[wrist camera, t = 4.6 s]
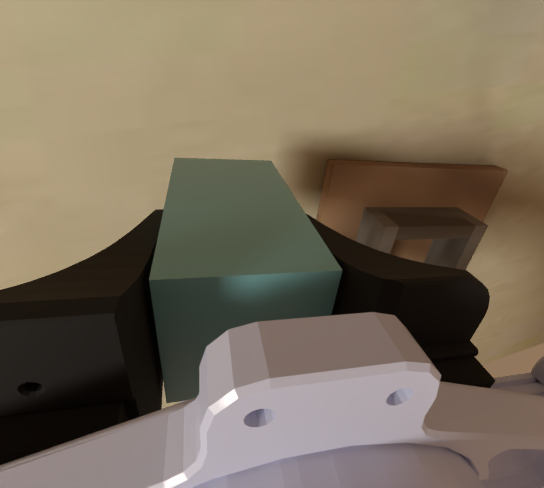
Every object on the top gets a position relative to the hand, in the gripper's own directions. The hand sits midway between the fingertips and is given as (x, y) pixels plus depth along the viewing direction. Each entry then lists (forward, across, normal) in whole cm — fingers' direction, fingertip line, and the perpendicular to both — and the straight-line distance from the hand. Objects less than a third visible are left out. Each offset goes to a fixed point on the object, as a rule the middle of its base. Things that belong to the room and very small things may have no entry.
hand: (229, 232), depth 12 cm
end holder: (+9, -14, +7) cm, 19 cm away
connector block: (+3, 0, 0) cm, 3 cm away
